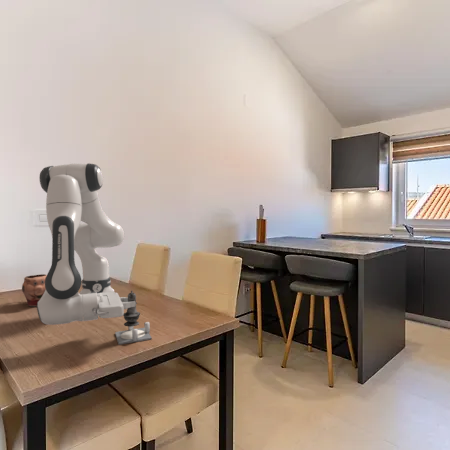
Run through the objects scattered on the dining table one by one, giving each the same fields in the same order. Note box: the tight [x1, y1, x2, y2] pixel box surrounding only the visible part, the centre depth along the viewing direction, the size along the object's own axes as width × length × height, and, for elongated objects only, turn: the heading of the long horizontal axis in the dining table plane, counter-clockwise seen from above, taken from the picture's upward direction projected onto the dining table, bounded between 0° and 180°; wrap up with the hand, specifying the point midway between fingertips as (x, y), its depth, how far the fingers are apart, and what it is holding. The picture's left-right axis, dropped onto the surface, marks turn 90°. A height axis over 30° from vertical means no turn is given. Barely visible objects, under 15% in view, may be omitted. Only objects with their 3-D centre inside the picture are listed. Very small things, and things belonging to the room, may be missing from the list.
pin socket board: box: [114, 321, 153, 345], centre depth 120 cm, size 12×11×4 cm
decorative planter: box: [21, 273, 47, 307], centre depth 164 cm, size 20×12×14 cm, turn 43°
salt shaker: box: [122, 290, 141, 327], centre depth 119 cm, size 6×6×12 cm
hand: (134, 301), depth 120 cm, fingers closed on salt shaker, 4 cm apart
